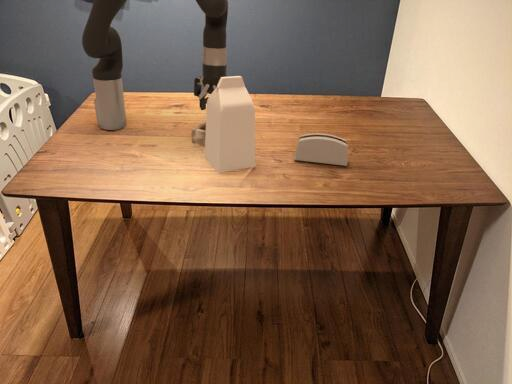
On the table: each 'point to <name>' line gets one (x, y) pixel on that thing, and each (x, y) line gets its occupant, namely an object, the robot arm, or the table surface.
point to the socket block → (199, 134)
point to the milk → (230, 126)
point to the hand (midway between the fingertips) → (214, 112)
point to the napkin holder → (322, 149)
